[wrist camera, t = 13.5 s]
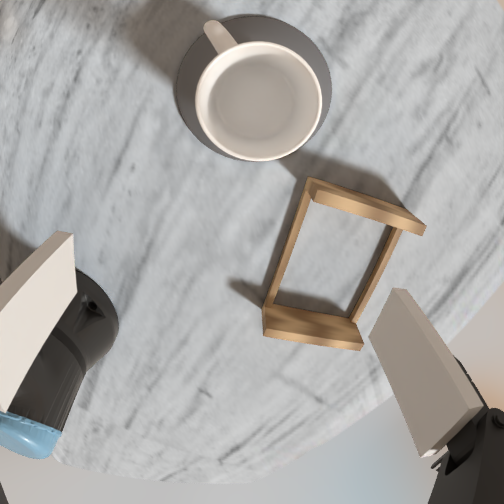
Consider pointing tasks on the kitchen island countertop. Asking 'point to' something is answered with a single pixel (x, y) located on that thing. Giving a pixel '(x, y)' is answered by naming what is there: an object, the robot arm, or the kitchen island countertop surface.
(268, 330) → the caddy
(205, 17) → the kitchen island countertop surface
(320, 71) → the coaster
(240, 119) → the mug
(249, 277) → the kitchen island countertop surface
